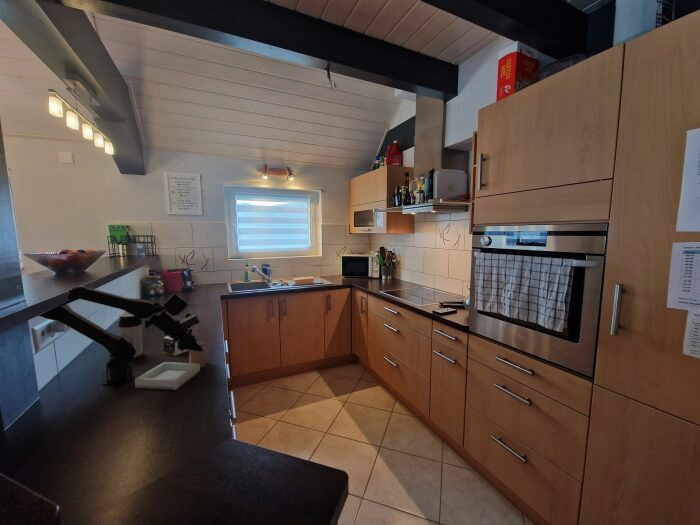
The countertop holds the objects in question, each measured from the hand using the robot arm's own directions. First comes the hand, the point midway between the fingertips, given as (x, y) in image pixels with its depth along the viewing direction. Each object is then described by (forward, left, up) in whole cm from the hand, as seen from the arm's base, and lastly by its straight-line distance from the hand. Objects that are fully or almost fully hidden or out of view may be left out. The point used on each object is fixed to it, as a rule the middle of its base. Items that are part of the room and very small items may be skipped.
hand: (201, 348), depth 115 cm
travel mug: (-34, +6, -7) cm, 35 cm away
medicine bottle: (-18, +12, -7) cm, 23 cm away
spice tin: (-1, -1, -7) cm, 7 cm away
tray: (-4, -13, -7) cm, 15 cm away
